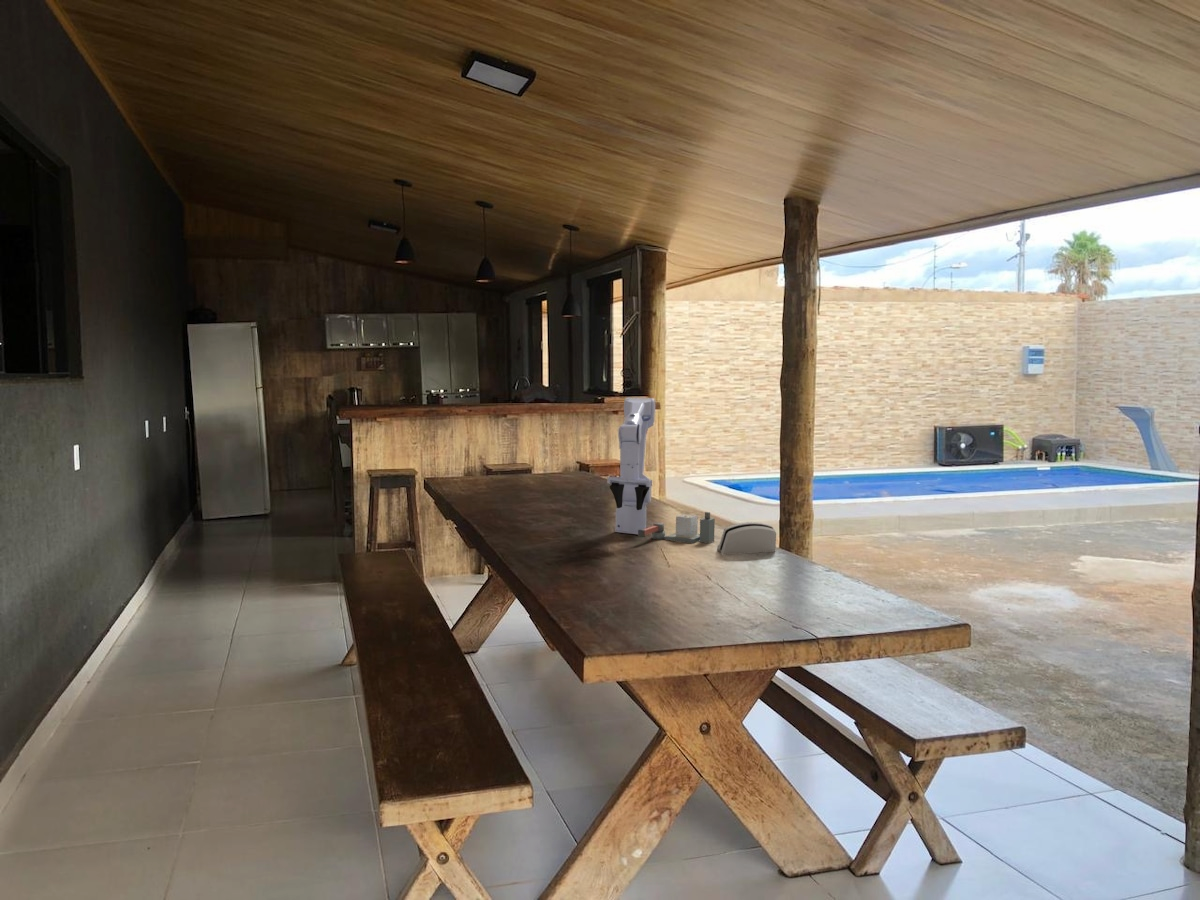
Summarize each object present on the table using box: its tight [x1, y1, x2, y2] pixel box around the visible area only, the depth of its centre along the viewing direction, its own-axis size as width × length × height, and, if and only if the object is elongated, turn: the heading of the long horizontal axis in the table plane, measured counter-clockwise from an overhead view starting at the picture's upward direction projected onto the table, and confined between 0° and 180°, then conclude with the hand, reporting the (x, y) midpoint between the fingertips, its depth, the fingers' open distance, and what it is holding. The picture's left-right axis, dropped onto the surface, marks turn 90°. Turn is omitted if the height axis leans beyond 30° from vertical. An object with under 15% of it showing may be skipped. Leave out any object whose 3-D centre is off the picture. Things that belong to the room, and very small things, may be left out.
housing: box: [675, 513, 699, 538], centre depth 287 cm, size 5×5×6 cm
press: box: [651, 511, 716, 544], centre depth 287 cm, size 18×10×9 cm, turn 59°
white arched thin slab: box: [716, 521, 777, 555], centre depth 269 cm, size 17×5×10 cm, turn 105°
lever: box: [637, 522, 665, 538], centre depth 284 cm, size 3×14×2 cm, turn 149°
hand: (629, 508), depth 284 cm, fingers open, 6 cm apart
